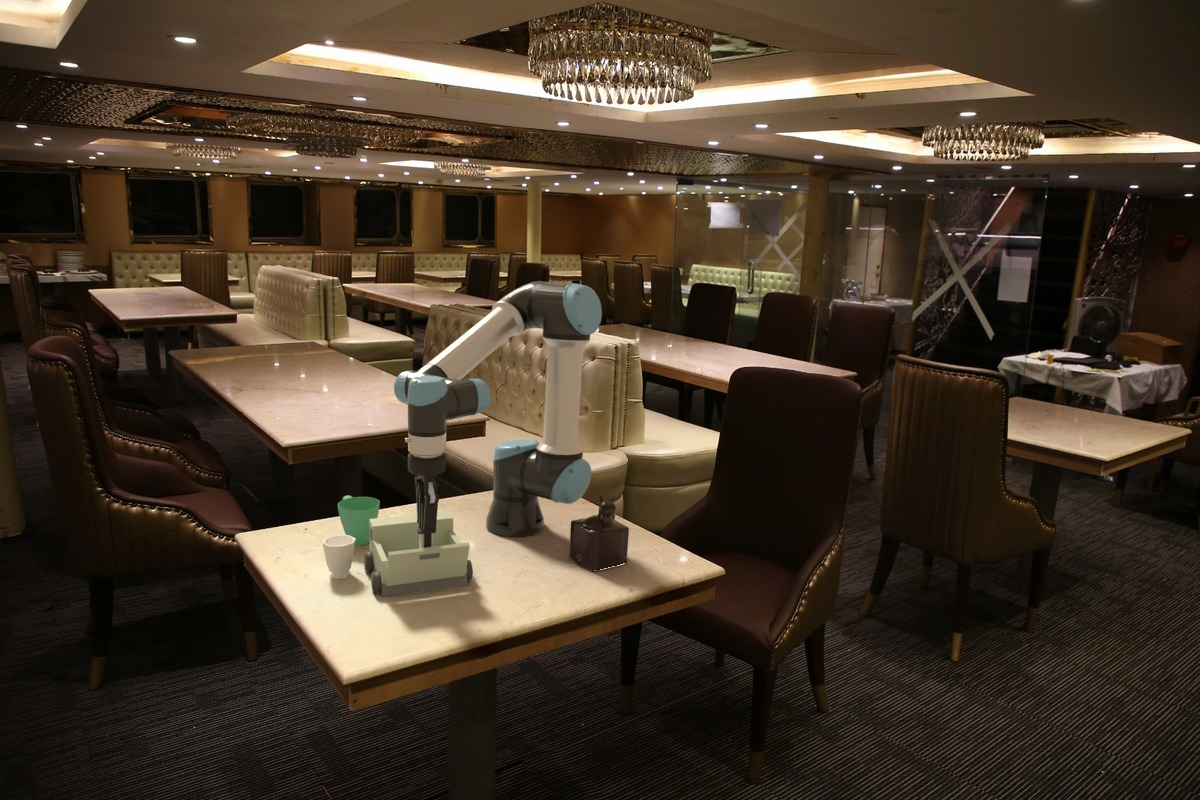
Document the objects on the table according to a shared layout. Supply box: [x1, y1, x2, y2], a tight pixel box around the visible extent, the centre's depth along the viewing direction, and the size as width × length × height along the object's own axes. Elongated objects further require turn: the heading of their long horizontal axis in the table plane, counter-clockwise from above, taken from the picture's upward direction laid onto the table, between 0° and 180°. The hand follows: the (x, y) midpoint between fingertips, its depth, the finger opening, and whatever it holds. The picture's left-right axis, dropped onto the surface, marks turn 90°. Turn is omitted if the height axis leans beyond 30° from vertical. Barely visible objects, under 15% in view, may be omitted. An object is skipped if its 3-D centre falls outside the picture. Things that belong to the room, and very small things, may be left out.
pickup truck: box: [363, 510, 474, 598], centre depth 174 cm, size 21×18×11 cm
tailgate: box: [386, 542, 471, 586], centre depth 164 cm, size 17×1×9 cm, turn 114°
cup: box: [322, 534, 356, 580], centre depth 174 cm, size 7×10×8 cm
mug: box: [337, 495, 381, 547], centre depth 193 cm, size 15×10×10 cm
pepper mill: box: [568, 494, 630, 572], centre depth 183 cm, size 16×11×18 cm
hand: (426, 560), depth 164 cm, fingers closed
